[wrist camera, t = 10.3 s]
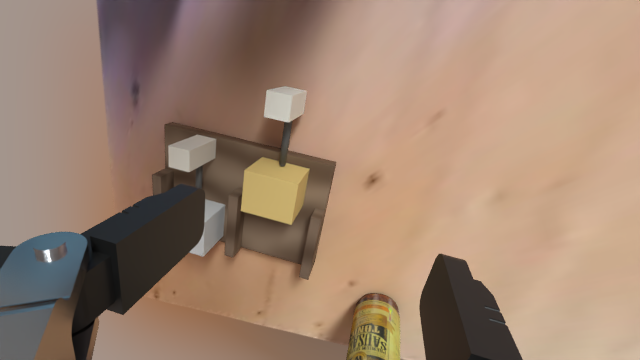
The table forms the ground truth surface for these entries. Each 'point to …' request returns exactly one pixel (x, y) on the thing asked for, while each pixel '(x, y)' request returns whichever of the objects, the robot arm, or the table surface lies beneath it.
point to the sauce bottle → (375, 329)
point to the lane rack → (227, 188)
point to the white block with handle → (200, 184)
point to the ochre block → (277, 165)
